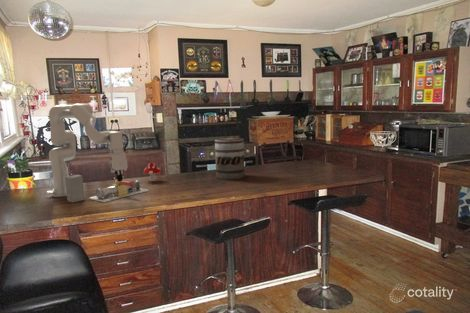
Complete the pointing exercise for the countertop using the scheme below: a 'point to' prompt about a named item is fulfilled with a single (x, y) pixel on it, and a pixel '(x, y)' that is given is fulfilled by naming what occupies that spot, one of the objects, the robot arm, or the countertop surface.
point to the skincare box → (74, 188)
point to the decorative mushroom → (152, 171)
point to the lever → (125, 183)
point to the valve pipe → (117, 192)
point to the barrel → (229, 158)
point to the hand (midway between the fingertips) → (119, 180)
